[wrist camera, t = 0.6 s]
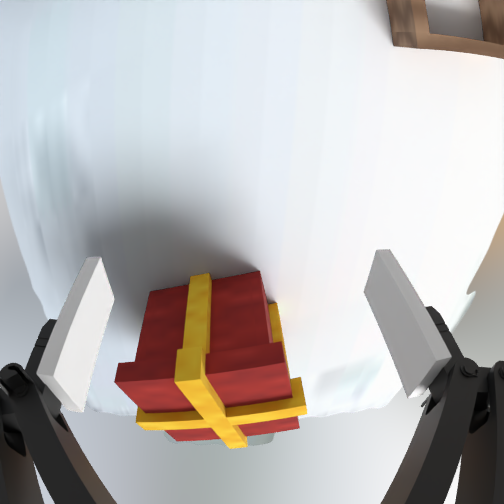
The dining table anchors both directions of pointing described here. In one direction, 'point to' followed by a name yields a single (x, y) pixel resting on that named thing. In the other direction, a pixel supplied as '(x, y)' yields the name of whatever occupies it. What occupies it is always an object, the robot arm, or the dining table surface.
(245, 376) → the gift box
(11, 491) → the robot arm
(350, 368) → the dining table surface
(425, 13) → the cradle
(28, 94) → the dining table surface
